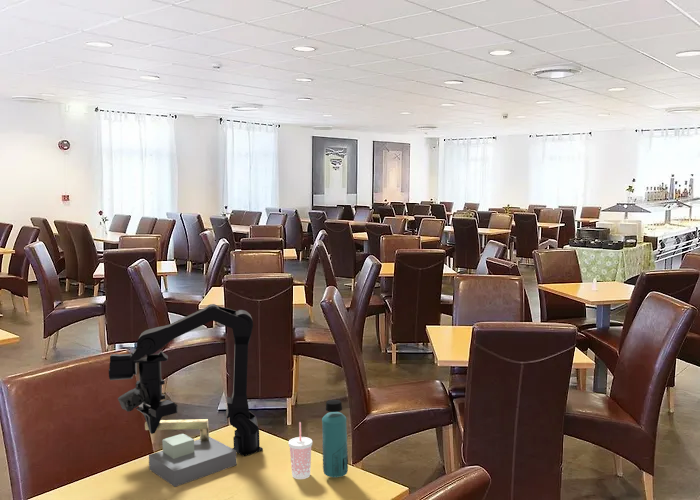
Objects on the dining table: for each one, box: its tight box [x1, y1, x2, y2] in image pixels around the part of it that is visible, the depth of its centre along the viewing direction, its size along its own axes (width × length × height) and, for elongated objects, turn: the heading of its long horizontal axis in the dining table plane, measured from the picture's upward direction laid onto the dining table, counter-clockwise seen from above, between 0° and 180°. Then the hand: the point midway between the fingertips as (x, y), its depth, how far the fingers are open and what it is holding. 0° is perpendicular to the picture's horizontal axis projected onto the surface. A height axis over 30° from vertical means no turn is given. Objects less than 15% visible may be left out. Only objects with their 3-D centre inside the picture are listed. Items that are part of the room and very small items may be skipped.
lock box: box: [148, 436, 237, 487], centre depth 168 cm, size 18×14×4 cm
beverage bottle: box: [321, 399, 349, 478], centre depth 160 cm, size 6×7×20 cm
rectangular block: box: [161, 433, 195, 459], centre depth 168 cm, size 6×6×4 cm
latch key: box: [144, 418, 210, 441], centre depth 176 cm, size 17×2×6 cm, turn 91°
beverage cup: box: [288, 421, 313, 480], centre depth 162 cm, size 6×6×14 cm
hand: (152, 433), depth 173 cm, fingers closed
